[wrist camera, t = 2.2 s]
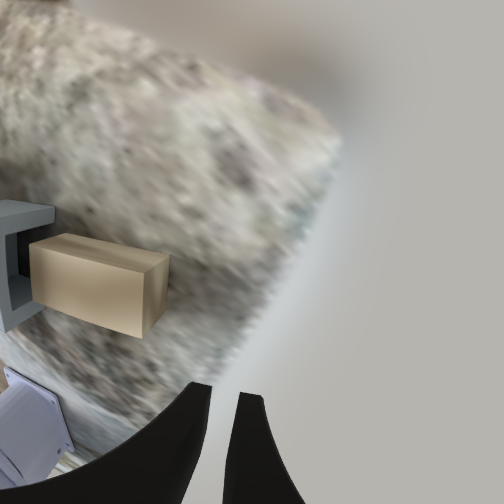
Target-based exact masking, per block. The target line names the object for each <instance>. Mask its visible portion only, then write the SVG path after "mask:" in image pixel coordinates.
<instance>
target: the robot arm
mask: <svg viewBox="0 0 504 504" xmlns="http://www.w3.org/2000/svg"><path fill="white" fill-rule="evenodd" d="M4 372H5V375H6V378H7V381H8V384H9V387H8V388H7V389H6V390H5V391H4V392H3V393H1V394H0V504H181V502H182V500H183V497H184V495H185V492H186V490H187V487H188V485H189V482H190V480H191V477H192V475H193V472H194V470H195V467H196V465H197V462H198V459H199V457H200V454H201V450H202V446H203V442H204V438H205V434H206V430H207V422H208V415H209V407H210V399H211V392H212V386H209V385H204V384H200V383H196V382H191V383H189V384H188V385H187V386H186V387H185V388H184V390H183V391H182V392H181V393H180V394H179V395H178V396H177V397H176V398H175V400H174V401H173V402H172V403H171V404H170V405H169V406H168V407H167V408H166V409H164V410H163V411H162V412H161V413H160V414H159V415H158V416H157V417H156V418H155V419H153V420H152V421H151V422H150V423H149V424H148V425H146V426H145V427H144V428H143V429H141V430H140V431H139V432H137V433H136V434H135V435H133V436H132V437H131V438H129V439H128V440H127V441H125V442H124V443H122V444H121V445H119V446H118V447H116V448H115V449H113V450H111V451H110V452H108V453H106V454H105V455H103V456H101V457H99V458H97V459H96V460H94V461H92V462H89V463H87V464H85V465H83V466H81V467H79V468H77V469H75V470H72V471H70V472H67V473H65V474H62V475H59V476H56V477H53V478H50V479H47V480H46V478H47V477H48V475H49V474H50V473H51V471H52V470H53V468H54V467H55V466H56V464H57V463H58V461H59V460H60V458H61V457H62V456H63V454H64V453H65V451H66V450H68V451H70V452H74V451H75V449H74V446H73V444H72V441H71V438H70V436H69V433H68V430H67V427H66V424H65V421H64V418H63V415H62V412H61V408H60V405H59V402H58V398H57V396H56V395H55V394H53V393H52V392H50V391H48V390H46V389H44V388H42V387H40V386H39V385H37V384H35V383H33V382H31V381H30V380H28V379H26V378H25V377H23V376H21V375H20V374H18V373H16V372H15V371H13V370H11V369H10V368H8V367H5V368H4ZM222 504H305V502H304V500H303V499H302V497H301V496H300V494H299V492H298V491H297V489H296V487H295V485H294V483H293V482H292V480H291V478H290V476H289V474H288V472H287V470H286V468H285V466H284V464H283V461H282V459H281V457H280V454H279V452H278V449H277V447H276V444H275V441H274V439H273V436H272V433H271V430H270V426H269V423H268V420H267V416H266V412H265V406H264V400H263V398H262V397H261V395H255V394H249V393H243V392H240V395H239V399H238V404H237V409H236V414H235V419H234V424H233V428H232V433H231V438H230V443H229V448H228V454H227V458H226V466H225V478H224V490H223V502H222Z"/></svg>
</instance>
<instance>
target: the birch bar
mask: <svg viewBox="0 0 504 504" xmlns="http://www.w3.org/2000/svg"><path fill="white" fill-rule="evenodd" d="M29 256H30V275H31V287H32V297H33V301H35V302H37V303H40V304H42V305H45V306H47V307H50V308H52V309H55V310H57V311H60V312H63V313H65V314H68V315H71V316H73V317H76V318H79V319H82V320H84V321H87V322H90V323H93V324H96V325H99V326H102V327H105V328H108V329H111V330H114V331H117V332H121V333H124V334H127V335H130V336H134V337H137V338H141V339H142V338H143V337H144V336H145V335H146V333H147V332H148V331H149V330H150V329H151V327H152V326H153V325H154V324H155V323H156V321H157V320H158V319H159V318H160V317H161V315H162V314H163V313H164V312H165V311H166V303H167V290H168V278H169V267H170V256H171V255H169V254H164V253H159V252H154V251H149V250H145V249H140V248H135V247H130V246H125V245H120V244H116V243H111V242H106V241H101V240H97V239H92V238H87V237H83V236H78V235H73V234H69V233H64V234H61V235H57V236H54V237H51V238H47V239H44V240H41V241H38V242H34V243H31V244H29Z"/></svg>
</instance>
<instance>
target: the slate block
mask: <svg viewBox="0 0 504 504" xmlns="http://www.w3.org/2000/svg"><path fill="white" fill-rule="evenodd" d="M51 223H55V207H54V206H47V205H41V204H35V203H28V202H22V201H15V200H9V199H5V200H0V331H2V332H4V333H7V332H8V331H10V330H11V329H13V328H14V327H16V326H17V325H19V324H20V323H22V322H24V321H25V320H27V319H28V318H30V317H31V316H33V315H35V314H36V313H38V312H39V311H41V310H43V309H44V308H46V307H47V306H45V305H42V304H40V303H37V302H35V301H33V297H32V287H31V278H28V277H25V276H23V275H20V274H19V270H18V253H17V232H19V231H23V230H27V229H31V228H35V227H39V226H43V225H47V224H51Z"/></svg>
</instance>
